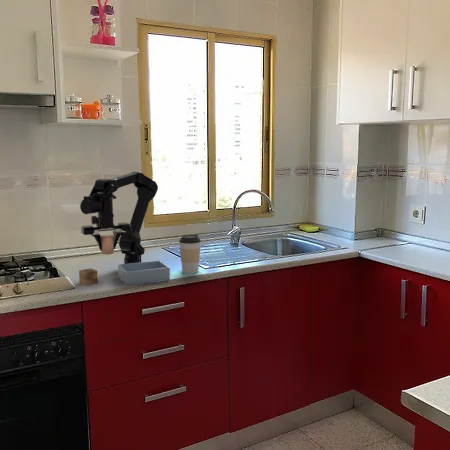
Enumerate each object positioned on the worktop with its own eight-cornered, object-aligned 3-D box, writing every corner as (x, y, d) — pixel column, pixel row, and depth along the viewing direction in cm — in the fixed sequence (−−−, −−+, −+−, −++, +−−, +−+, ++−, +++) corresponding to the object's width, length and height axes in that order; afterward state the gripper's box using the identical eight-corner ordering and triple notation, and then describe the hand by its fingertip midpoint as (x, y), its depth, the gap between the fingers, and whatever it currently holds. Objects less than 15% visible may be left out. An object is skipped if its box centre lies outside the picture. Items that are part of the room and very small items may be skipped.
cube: (91, 280, 196) (91, 268, 196) (97, 283, 193) (97, 270, 192) (79, 283, 193) (78, 270, 192) (85, 285, 189) (85, 272, 189)
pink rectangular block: (112, 251, 205) (111, 234, 204) (115, 253, 201) (114, 236, 200) (99, 252, 203) (98, 235, 202) (102, 255, 199) (101, 237, 198)
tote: (160, 272, 208) (159, 260, 208) (169, 280, 197) (169, 267, 196) (118, 276, 202) (118, 264, 201) (126, 285, 190) (125, 272, 189)
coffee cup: (183, 274, 205) (182, 238, 203) (176, 269, 213) (175, 234, 211) (204, 272, 209) (204, 236, 206) (196, 267, 217) (196, 232, 214)
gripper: (123, 207, 210) (124, 243, 213) (77, 210, 202) (79, 248, 205) (130, 210, 201) (132, 248, 203) (83, 213, 192) (85, 253, 195)
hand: (107, 249), depth 202 cm, fingers closed on pink rectangular block, 5 cm apart
